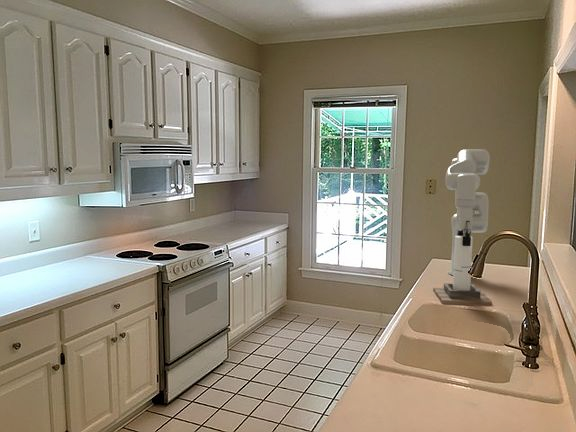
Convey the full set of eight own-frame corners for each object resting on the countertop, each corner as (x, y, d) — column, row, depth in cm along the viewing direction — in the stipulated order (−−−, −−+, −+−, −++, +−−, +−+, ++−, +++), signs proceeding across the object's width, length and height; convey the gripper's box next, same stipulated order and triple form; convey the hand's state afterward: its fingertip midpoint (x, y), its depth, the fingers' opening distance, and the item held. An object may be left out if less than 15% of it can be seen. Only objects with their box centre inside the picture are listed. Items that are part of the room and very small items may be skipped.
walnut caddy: (433, 290, 225) (433, 280, 225) (478, 292, 223) (479, 282, 223) (442, 303, 206) (442, 293, 205) (492, 305, 203) (492, 294, 203)
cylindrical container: (471, 296, 210) (474, 238, 207) (453, 295, 212) (456, 238, 209) (468, 292, 217) (471, 235, 214) (451, 291, 219) (453, 235, 216)
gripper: (451, 201, 218) (450, 240, 220) (461, 205, 201) (459, 247, 203) (469, 201, 218) (467, 240, 220) (480, 205, 200) (478, 247, 203)
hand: (463, 243), depth 212 cm, fingers open, 8 cm apart
